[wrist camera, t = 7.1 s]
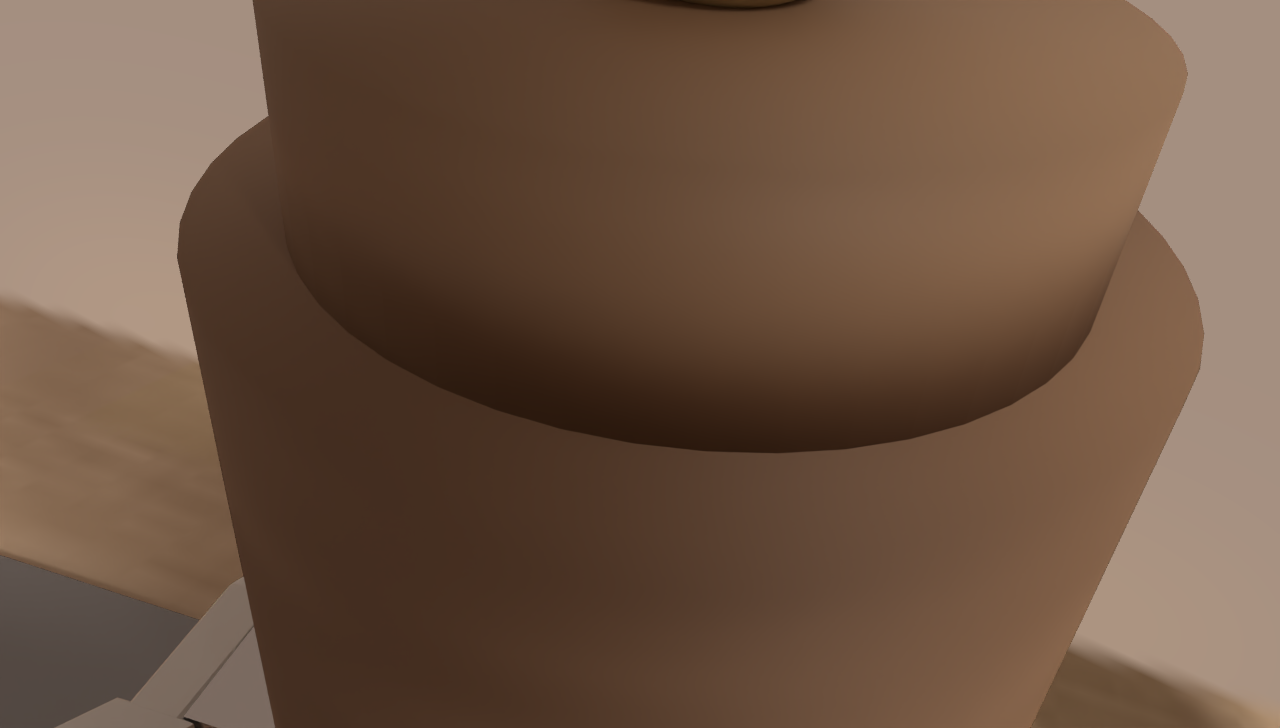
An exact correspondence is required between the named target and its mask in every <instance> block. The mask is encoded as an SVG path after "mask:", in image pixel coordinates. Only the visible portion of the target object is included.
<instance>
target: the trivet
mask: <svg viewBox="0 0 1280 728" xmlns="http://www.w3.org/2000/svg"><path fill="white" fill-rule="evenodd" d="M198 621H199V620H198V619H195V618H192V617H189V616H186V615H183V614H180V613H176V612H173V611H170V610H167V609H164V608H161V607H158V606H155V605H152V604H149V603H146V602H143V601H140V600H137V599H133V598H130V597H127V596H124V595H121V594H118V593H115V592H112V591H109V590H106V589H103V588H100V587H97V586H94V585H91V584H87V583H84V582H81V581H78V580H75V579H72V578H69V577H66V576H63V575H60V574H57V573H54V572H51V571H48V570H44V569H41V568H38V567H35V566H32V565H29V564H26V563H23V562H20V561H17V560H14V559H11V558H8V557H5V556H2V555H0V728H55V727H57V726H59V725H61V724H63V723H65V722H67V721H69V720H72V719H74V718H76V717H78V716H80V715H82V714H84V713H86V712H88V711H90V710H92V709H94V708H96V707H99V706H101V705H103V704H105V703H107V702H109V701H111V700H113V699H115V698H117V697H118V698H121V699H124V700H128V701H131V700H132V699H133V698H134V697H135V696H136V694H137V693H138V692H139V691H140V690H141V689H142V687H143V686H144V685H145V684H146V683H147V681H148V680H149V679H150V678H151V677H152V676H153V674H154V673H155V672H156V671H157V670H158V669H159V667H160V666H161V665H162V664H163V663H164V661H165V660H166V659H167V658H168V657H169V656H170V654H171V653H172V652H173V651H174V650H175V648H176V647H177V646H178V645H179V644H180V643H181V641H182V640H183V639H184V638H185V637H186V635H187V634H188V633H189V632H190V631H191V630H192V628H193V627H194V626H195V625H196V624H197V623H198Z"/></svg>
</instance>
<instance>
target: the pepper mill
mask: <svg viewBox="0 0 1280 728" xmlns="http://www.w3.org/2000/svg"><path fill="white" fill-rule="evenodd" d="M253 6H254V13H255V20H256V28H257V35H258V42H259V49H260V57H261V64H262V71H263V79H264V86H265V93H266V100H267V107H268V115H269V116H268V117H266V118H265V119H263V120H262V121H261V122H259V123H258V124H257V125H255V126H254V127H252V128H251V129H249V130H248V131H247V132H245V133H244V134H242V135H241V136H240V137H238V138H237V139H236V140H235V141H234V142H233V143H232V144H231V145H230V146H229V147H227V148H226V150H224V151H223V152H222V153H221V154H220V155H219V156H218V157H217V158H216V159H215V160H214V161H213V162H212V163H211V164H210V166H209V167H208V169H207V170H206V172H205V173H204V175H203V176H202V178H201V179H200V180H199V182H198V183H197V185H196V186H195V188H194V189H193V191H192V192H191V195H190V198H189V200H188V203H187V205H186V208H185V211H184V213H183V216H182V219H181V221H180V228H179V242H178V253H177V259H178V264H179V268H180V273H181V278H182V283H183V288H184V293H185V297H186V302H187V307H188V312H189V317H190V321H191V326H192V331H193V336H194V341H195V345H196V350H197V355H198V360H199V365H200V369H201V374H202V379H203V384H204V389H205V393H206V398H207V403H208V408H209V413H210V417H211V422H212V427H213V432H214V437H215V441H216V446H217V451H218V456H219V461H220V466H221V470H222V475H223V480H224V485H225V490H226V494H227V499H228V504H229V509H230V514H231V518H232V523H233V528H234V533H235V538H236V542H237V547H238V552H239V557H240V562H241V566H242V571H243V576H244V581H245V586H246V590H247V595H248V600H249V605H250V610H251V614H252V619H253V624H254V629H255V634H256V638H257V643H258V648H259V653H260V658H261V662H262V667H263V672H264V677H265V682H266V686H267V691H268V696H269V701H270V706H271V711H272V715H273V720H274V725H275V728H1031V726H1032V724H1033V722H1034V720H1035V718H1036V716H1037V713H1038V711H1039V709H1040V707H1041V705H1042V703H1043V701H1044V699H1045V697H1046V694H1047V692H1048V690H1049V688H1050V686H1051V684H1052V682H1053V680H1054V678H1055V675H1056V673H1057V671H1058V669H1059V667H1060V665H1061V663H1062V661H1063V659H1064V657H1065V654H1066V652H1067V650H1068V648H1069V646H1070V644H1071V642H1072V640H1073V638H1074V635H1075V633H1076V631H1077V629H1078V627H1079V625H1080V623H1081V621H1082V618H1083V616H1084V614H1085V612H1086V610H1087V608H1088V606H1089V604H1090V601H1091V600H1092V597H1093V595H1094V593H1095V591H1096V589H1097V587H1098V585H1099V582H1100V581H1101V578H1102V576H1103V574H1104V572H1105V570H1106V568H1107V566H1108V564H1109V562H1110V559H1111V557H1112V555H1113V553H1114V551H1115V549H1116V547H1117V545H1118V542H1119V541H1120V538H1121V536H1122V534H1123V532H1124V530H1125V528H1126V525H1127V524H1128V522H1129V519H1130V517H1131V515H1132V513H1133V511H1134V509H1135V507H1136V505H1137V503H1138V500H1139V498H1140V496H1141V494H1142V492H1143V490H1144V488H1145V486H1146V484H1147V482H1148V479H1149V477H1150V475H1151V473H1152V471H1153V469H1154V467H1155V465H1156V463H1157V460H1158V458H1159V456H1160V454H1161V452H1162V450H1163V448H1164V446H1165V443H1166V441H1167V439H1168V437H1169V435H1170V433H1171V431H1172V429H1173V427H1174V425H1175V422H1176V420H1177V418H1178V416H1179V414H1180V412H1181V410H1182V408H1183V406H1184V403H1185V401H1186V399H1187V396H1188V394H1189V392H1190V390H1191V388H1192V385H1193V383H1194V381H1195V379H1196V376H1197V374H1198V372H1199V369H1200V363H1201V354H1202V346H1203V338H1204V331H1203V325H1202V319H1201V313H1200V307H1199V302H1198V298H1197V296H1196V294H1195V291H1194V289H1193V287H1192V284H1191V282H1190V280H1189V278H1188V275H1187V273H1186V271H1185V269H1184V266H1183V265H1182V264H1181V262H1180V261H1179V259H1178V258H1177V257H1176V255H1175V254H1174V252H1173V251H1172V249H1171V248H1170V246H1169V245H1168V243H1167V242H1166V240H1165V239H1164V238H1163V236H1162V235H1161V234H1160V233H1159V232H1158V231H1157V230H1156V229H1155V228H1154V227H1153V226H1152V225H1151V224H1150V223H1149V222H1148V220H1147V219H1145V217H1144V216H1143V215H1142V214H1141V213H1140V212H1139V211H1138V208H1139V205H1140V203H1141V200H1142V198H1143V195H1144V192H1145V190H1146V187H1147V185H1148V182H1149V180H1150V177H1151V175H1152V172H1153V169H1154V167H1155V164H1156V162H1157V159H1158V157H1159V154H1160V151H1161V149H1162V146H1163V143H1164V141H1165V138H1166V136H1167V133H1168V131H1169V128H1170V126H1171V123H1172V121H1173V118H1174V116H1175V113H1176V110H1177V108H1178V105H1179V103H1180V100H1181V97H1182V95H1183V92H1184V88H1185V84H1186V79H1187V75H1188V72H1187V68H1186V64H1185V60H1184V56H1183V54H1182V52H1181V51H1180V49H1179V48H1178V46H1177V45H1176V43H1175V42H1174V40H1173V39H1172V37H1171V36H1170V35H1169V34H1168V33H1167V32H1166V31H1165V30H1164V29H1163V28H1161V27H1160V26H1159V25H1158V24H1157V23H1156V22H1155V21H1154V20H1153V19H1152V18H1150V17H1149V16H1148V15H1146V14H1145V13H1143V12H1142V11H1140V10H1139V9H1137V8H1136V7H1135V6H1133V5H1132V4H1130V3H1129V2H1127V1H1125V0H253Z"/></svg>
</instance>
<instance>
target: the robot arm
mask: <svg viewBox="0 0 1280 728" xmlns="http://www.w3.org/2000/svg"><path fill="white" fill-rule="evenodd" d="M55 728H275V725H274V720H273V715H272V711H271V706H270V701H269V696H268V691H267V686H266V682H265V677H264V672H263V667H262V662H261V658H260V653H259V648H258V643H257V638H256V634H255V629H254V624H253V619H252V614H251V610H250V605H249V600H248V595H247V590H246V586H245V581H244V576H243V577H241V578H240V579H238V580H237V581H235V582H233V583H232V584H230V585H229V586H228V587H227V588H226V589H225V591H224V592H223V593H222V594H221V595H220V597H219V598H218V599H217V600H216V601H215V602H214V604H213V605H212V606H211V607H210V608H209V610H208V611H207V612H206V613H205V614H204V615H203V617H202V618H201V619H200V620H199V621H198V623H197V624H196V625H195V626H194V627H193V628H192V630H191V631H190V632H189V633H188V634H187V635H186V637H185V638H184V639H183V640H182V641H181V643H180V644H179V645H178V646H177V647H176V648H175V650H174V651H173V652H172V653H171V654H170V656H169V657H168V658H167V659H166V660H165V661H164V663H163V664H162V665H161V666H160V667H159V669H158V670H157V671H156V672H155V673H154V674H153V676H152V677H151V678H150V679H149V680H148V681H147V683H146V684H145V685H144V686H143V687H142V689H141V690H140V691H139V692H138V693H137V694H136V696H135V697H134V698H133V699H132V700H131V701H128V700H124V699H121V698H118V697H117V698H115V699H113V700H111V701H109V702H107V703H105V704H103V705H101V706H99V707H96V708H94V709H92V710H90V711H88V712H86V713H84V714H82V715H80V716H78V717H76V718H74V719H72V720H69V721H67V722H65V723H63V724H61V725H59V726H57V727H55Z"/></svg>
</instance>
